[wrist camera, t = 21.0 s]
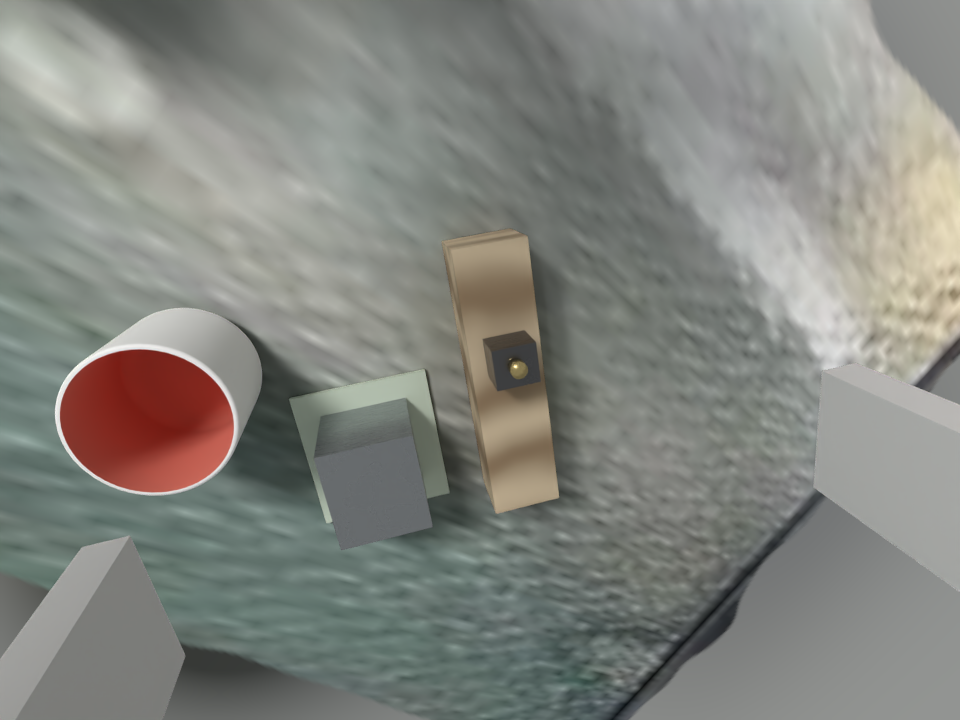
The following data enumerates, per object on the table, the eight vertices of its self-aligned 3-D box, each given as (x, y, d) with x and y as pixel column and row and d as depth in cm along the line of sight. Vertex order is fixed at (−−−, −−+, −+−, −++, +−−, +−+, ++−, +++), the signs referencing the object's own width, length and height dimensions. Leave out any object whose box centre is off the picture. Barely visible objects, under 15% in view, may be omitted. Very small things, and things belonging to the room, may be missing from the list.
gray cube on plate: (320, 416, 45) (313, 458, 39) (405, 397, 46) (412, 435, 40) (344, 498, 48) (341, 550, 42) (423, 479, 49) (432, 527, 43)
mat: (289, 397, 45) (289, 399, 44) (424, 368, 46) (424, 370, 46) (326, 520, 49) (326, 523, 49) (449, 490, 51) (449, 492, 50)
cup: (292, 366, 44) (274, 420, 35) (205, 450, 45) (164, 524, 36) (185, 275, 40) (132, 308, 31) (92, 368, 41) (14, 428, 32)
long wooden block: (441, 241, 43) (451, 250, 39) (510, 228, 44) (527, 235, 39) (484, 482, 51) (496, 513, 46) (541, 467, 52) (559, 497, 47)
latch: (482, 338, 41) (493, 355, 37) (524, 330, 41) (539, 345, 38) (488, 376, 42) (499, 395, 38) (529, 367, 42) (544, 385, 39)
